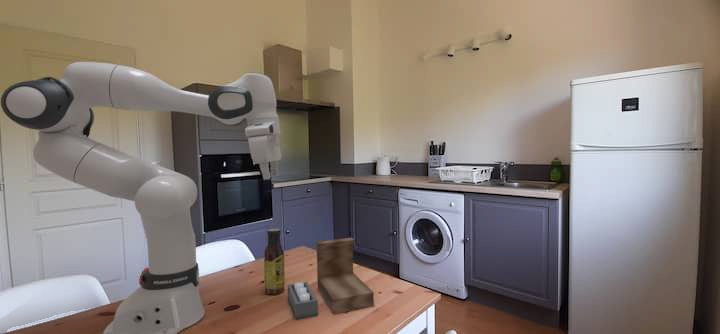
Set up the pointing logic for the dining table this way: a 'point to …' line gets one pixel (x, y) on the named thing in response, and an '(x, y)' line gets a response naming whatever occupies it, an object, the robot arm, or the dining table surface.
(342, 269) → the walnut shelf
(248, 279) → the dining table surface
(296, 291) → the grey egg holder
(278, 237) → the sauce bottle
